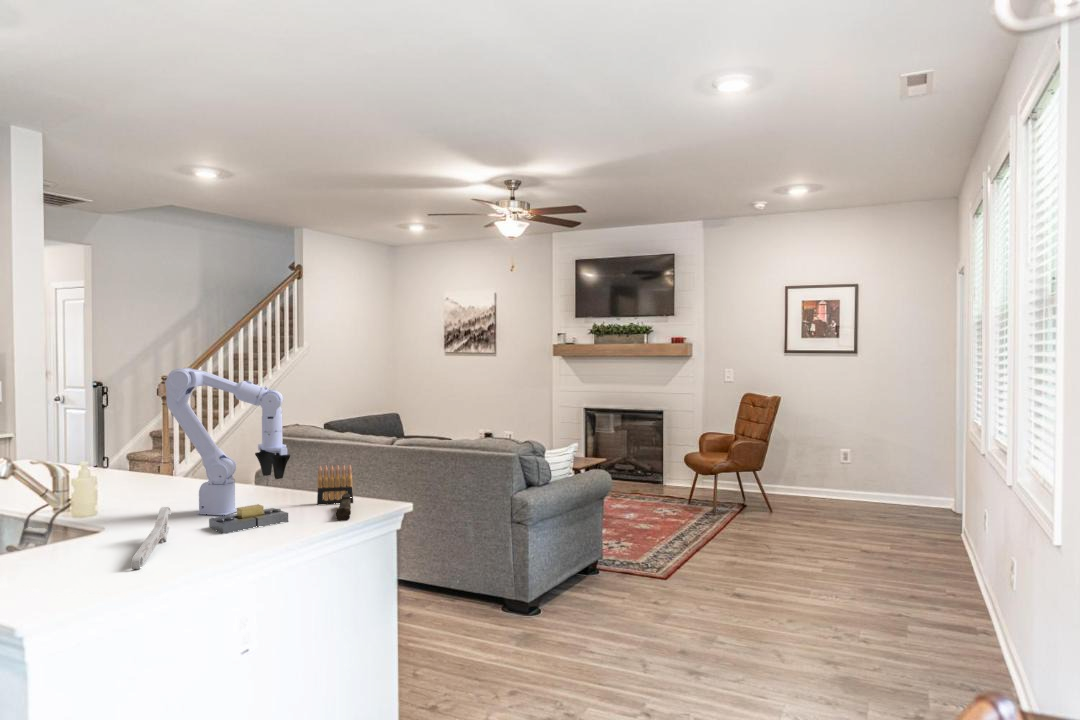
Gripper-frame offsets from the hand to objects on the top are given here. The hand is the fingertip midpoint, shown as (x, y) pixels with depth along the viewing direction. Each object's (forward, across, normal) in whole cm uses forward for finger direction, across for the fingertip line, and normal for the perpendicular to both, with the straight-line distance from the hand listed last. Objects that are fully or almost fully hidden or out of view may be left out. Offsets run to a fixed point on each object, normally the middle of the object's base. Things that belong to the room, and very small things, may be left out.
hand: (272, 477), depth 222 cm
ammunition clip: (+10, -5, -18) cm, 21 cm away
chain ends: (+10, -12, +13) cm, 20 cm away
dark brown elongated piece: (+10, -18, -12) cm, 24 cm away
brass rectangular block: (+10, -12, +12) cm, 20 cm away
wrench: (+10, -21, +40) cm, 47 cm away
